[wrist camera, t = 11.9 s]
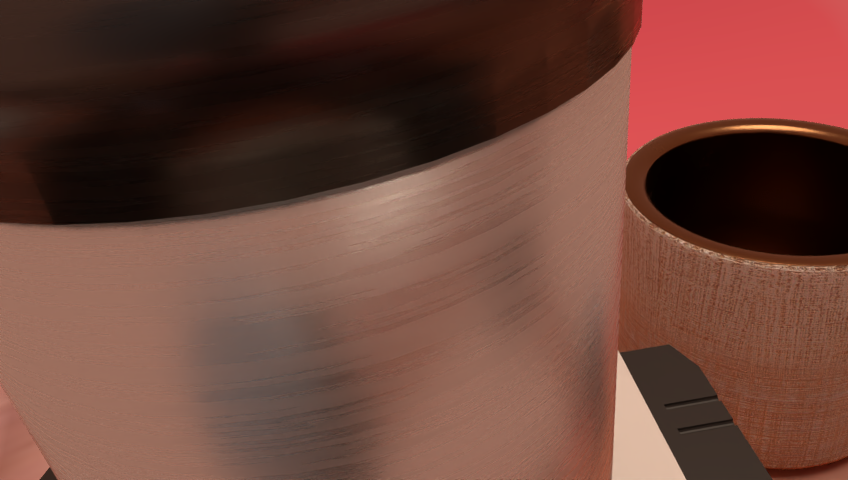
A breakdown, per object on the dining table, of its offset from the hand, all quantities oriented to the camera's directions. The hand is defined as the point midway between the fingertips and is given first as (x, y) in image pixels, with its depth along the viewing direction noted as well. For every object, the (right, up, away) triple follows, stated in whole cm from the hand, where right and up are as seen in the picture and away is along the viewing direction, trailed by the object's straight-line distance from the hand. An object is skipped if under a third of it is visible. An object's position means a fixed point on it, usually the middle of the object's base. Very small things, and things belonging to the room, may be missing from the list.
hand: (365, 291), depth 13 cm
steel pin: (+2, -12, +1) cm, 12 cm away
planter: (+15, -5, +18) cm, 24 cm away
